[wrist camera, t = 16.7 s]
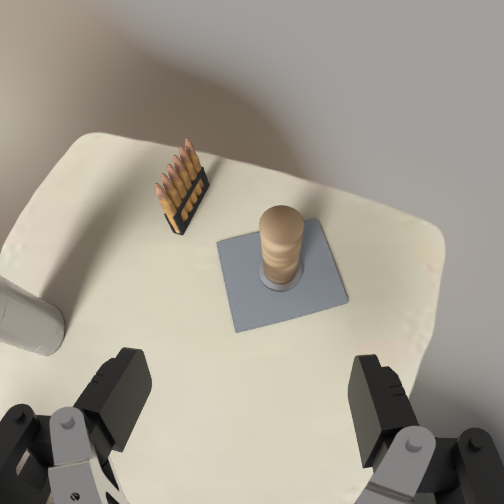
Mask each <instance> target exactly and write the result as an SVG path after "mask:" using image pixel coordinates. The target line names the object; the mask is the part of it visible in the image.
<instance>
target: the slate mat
mask: <svg viewBox="0 0 504 504" xmlns="http://www.w3.org/2000/svg"><path fill="white" fill-rule="evenodd" d="M216 243H217V248H218V253H219V258H220V263H221V267H222V272H223V277H224V282H225V286H226V291H227V296H228V300H229V305H230V309H231V314H232V318H233V323H234V327H235V332H236V333H238V332H242V331H246V330H251V329H255V328H259V327H263V326H267V325H271V324H275V323H279V322H282V321H286V320H290V319H294V318H297V317H301V316H305V315H308V314H312V313H315V312H319V311H322V310H326V309H329V308H333V307H336V306H339V305H343V304H346V303H348V299H347V296H346V293H345V290H344V287H343V285H342V282H341V279H340V276H339V274H338V271H337V268H336V265H335V263H334V260H333V257H332V255H331V252H330V249H329V247H328V244H327V242H326V239H325V236H324V234H323V231H322V229H321V226H320V224H319V221H318V219H317V218H316V219H312V220H307V221H304V229H303V236H302V243H301V249H300V255H299V260H300V262H301V266H302V274H301V278H300V280H299V282H298V284H297V285H296V286H295V287H294V288H292V289H290V290H288V291H284V292H276V291H273V290H270V289H268V288H267V287H266V286H265V285H264V284H263V283H262V281H261V279H260V275H259V265H260V262H261V260H262V258H263V257H262V247H261V237H260V232H257V233H252V234H248V235H244V236H240V237H236V238H232V239H228V240H224V241H220V242H216Z"/></svg>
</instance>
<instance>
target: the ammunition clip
mask: <svg viewBox="0 0 504 504" xmlns="http://www.w3.org/2000/svg"><path fill="white" fill-rule="evenodd" d="M185 146H186V150H185V149H184V148H183V147H182V146H180V149H179V153H180V158H181V160H180V159H179V158H178V156H176V155H174V158H173V159H174V165H175V168H176V170H175V169H174V167H173V166H172V165H171V164H168V167H167V168H168V174H169V177H170V179H169V178H168V177H167V176H166V175H165V174H164V173H162V175H161V178H162V183H163V186H164V188H165V191H166V192H165V191H164V189H163V188H162V187H161V186H160V185H159V184H158V183H156V184H155V189H156V193H157V196H158V198H159V200H160V203H161V206H162V208H163V210H164V212H165V214H164V215H165V217H166V219H167V221H168V223H169V225H170V227H171V229H172V231H173V233H176V234H179V235H184V233H185V231H186V229H187V227H188V225H189V223H190V221H191V219H192V217H193V215H194V213H195V211H196V209H197V208H198V206H199V204H200V202H201V200H202V198H203V196H204V195H205V193H206V191H207V189H208V187H209V182H208V179H207V176H206V174H205V171H204V168H203V167H202V168H201V165H200V162H199V158H198V156H197V154H196V152H195V150H194V147H193V145H192V143H191V141H190V140H189V139H188V138H186V140H185ZM186 151H187V152H186ZM181 161H182V162H181ZM170 180H171V181H170ZM171 182H172V183H171Z"/></svg>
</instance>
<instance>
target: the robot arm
mask: <svg viewBox="0 0 504 504" xmlns="http://www.w3.org/2000/svg"><path fill="white" fill-rule="evenodd" d="M64 329H65V326H64V319H63V316H62V314H61V312H60V311H59V309H58V308H56V307H55V306H53V305H51V304H49V303H47V302H46V301H44V300H42V299H40V298H38V297H37V296H35V295H33V294H31V293H29V292H28V291H26V290H24V289H22V288H21V287H19V286H17V285H15V284H14V283H12V282H10V281H9V280H7V279H5V278H4V277H2V276H1V275H0V342H3V343H6V344H9V345H12V346H15V347H18V348H21V349H24V350H27V351H30V352H34V353H37V354H41V355H45V356H47V355H51V354H53V353H54V352H55V351H56V350H57V349H58V348H59V347H60V345H61V343H62V340H63V337H64ZM151 388H152V379H151V375H150V372H149V369H148V365H147V362H146V359H145V355H144V352H143V351H142V350H141V349H133V348H126V347H124V348H122V349H121V350H120V352H119V353H118V355H117V356H116V358H111V359H109V360H108V361H107V362H105V363H104V364H102V366H101V367H100V368H99V370H98V371H97V373H96V375H94V377H93V378H92V380H91V382H89V384H88V385H87V387H86V388H85V390H84V391H83V393H82V394H81V395H80V397H79V398H78V400H77V401H76V403H75V404H74V406H73V407H64V408H61V409H59V410H57V411H56V412H54V414H53V415H52V416H43V415H35V413H34V411H33V410H32V408H31V407H30V406H28V405H26V404H17V405H15V406H13V407H11V408H10V409H9V410H8V411H7V413H6V414H5V416H4V417H3V418H2V420H1V421H0V504H46V501H47V499H48V497H49V495H50V492H52V497H53V501H54V504H130V503H129V502H128V500H127V499H126V497H125V495H124V493H123V490H122V488H121V485H120V483H119V480H118V477H117V475H116V472H115V469H114V466H113V463H112V460H111V458H110V456H109V454H110V452H111V450H115V451H118V452H123V450H124V448H125V446H126V443H127V441H128V439H129V437H130V435H131V432H132V430H133V428H134V426H135V424H136V422H137V420H138V417H139V415H140V413H141V411H142V409H143V407H144V405H145V403H146V400H147V398H148V396H149V394H150V392H151ZM348 400H349V405H350V409H351V414H352V418H353V423H354V427H355V432H356V437H357V442H358V446H359V451H360V456H361V462H362V467H363V468H368V467H373V472H374V475H373V476H372V478H371V480H370V481H369V483H368V484H367V486H366V487H365V489H364V490H363V492H362V493H361V495H360V496H359V497H358V499H357V500H356V502H355V503H354V504H414V500H413V497H414V495H415V493H427V498H428V502H429V504H504V466H503V464H502V461H501V459H500V456H499V454H498V451H497V449H496V447H495V444H494V442H493V440H492V438H491V436H490V435H489V433H487V432H486V431H485V430H483V429H480V428H470V429H467V430H466V431H464V432H463V433H462V434H461V435H460V437H459V438H437V437H434V436H433V434H432V433H431V432H430V431H429V430H427V429H426V428H423V427H420V426H419V424H418V422H417V419H416V416H415V415H414V411H413V409H412V407H411V405H410V402H409V400H408V397H407V395H406V394H405V390H404V388H403V387H402V383H401V381H400V379H399V377H398V375H397V374H396V373H395V372H394V371H393V370H392V369H391V368H390V367H389V366H386V367H381V365H380V363H379V360H378V358H377V356H376V355H375V354H372V355H359V356H355V358H354V362H353V367H352V371H351V376H350V380H349V385H348ZM26 450H27V451H28V452H29V453H30V456H29V457H28V459H27V461H26V463H25V465H24V466H23V468H22V470H21V472H20V474H19V476H17V474H16V467H17V465H18V463H19V461H20V460H21V458H22V456H23V454H24V453H25V451H26Z"/></svg>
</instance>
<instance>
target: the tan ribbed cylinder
mask: <svg viewBox="0 0 504 504" xmlns="http://www.w3.org/2000/svg"><path fill="white" fill-rule="evenodd" d="M259 227H260V237H261V247H262V257H263V258H262V260H261V262H260V265H259V275H260V279H261V281H262V283H263V284H264V285H265V286H266V287H267V288H268V289H270V290H273V291H276V292H284V291H288V290H290V289H292V288H294V287H295V286H296V285H297V284H298V282H299V280H300V278H301V274H302V266H301V262H300V260H299V255H300V249H301V243H302V236H303V229H304V221H303V218H302V216H301V214H300V213H299V212H298V211H297V210H295V209H294V208H292V207H289V206H283V205H280V206H274V207H271V208H269V209H268V210H266V211H265V212H264V213H263V215H262V216H261V218H260V222H259Z"/></svg>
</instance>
